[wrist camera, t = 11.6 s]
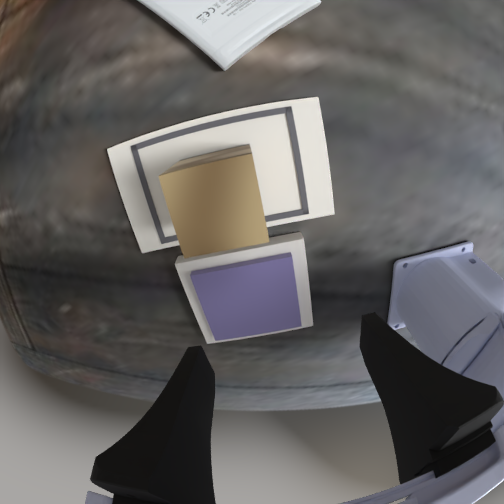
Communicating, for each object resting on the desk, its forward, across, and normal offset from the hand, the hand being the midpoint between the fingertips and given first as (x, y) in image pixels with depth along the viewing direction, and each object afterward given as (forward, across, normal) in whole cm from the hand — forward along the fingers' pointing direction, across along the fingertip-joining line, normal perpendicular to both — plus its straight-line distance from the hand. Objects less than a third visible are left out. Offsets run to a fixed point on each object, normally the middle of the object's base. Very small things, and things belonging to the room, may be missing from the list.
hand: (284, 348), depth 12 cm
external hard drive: (+10, 0, -20) cm, 23 cm away
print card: (+9, +2, -6) cm, 11 cm away
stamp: (+9, +2, -6) cm, 11 cm away
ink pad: (+9, +2, +3) cm, 10 cm away
